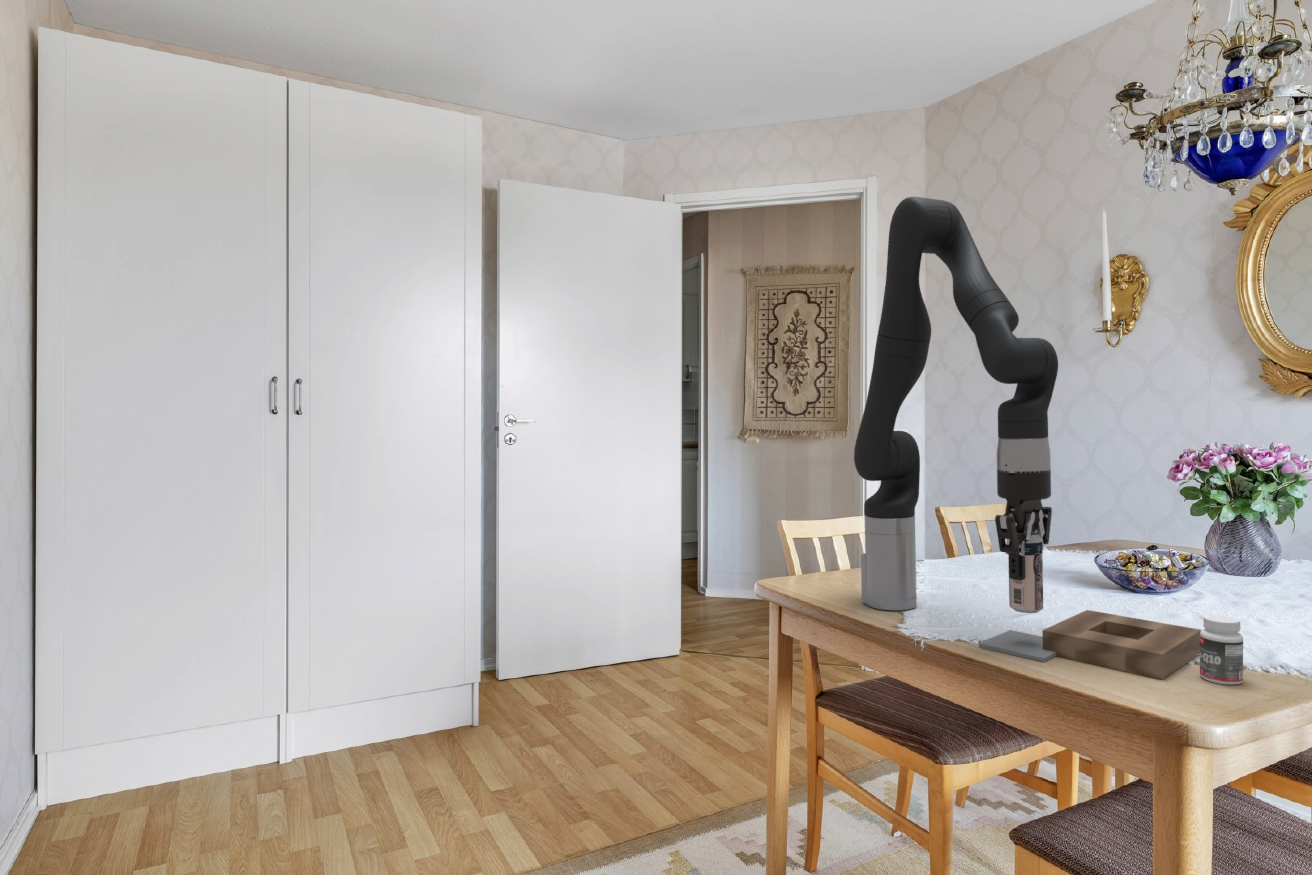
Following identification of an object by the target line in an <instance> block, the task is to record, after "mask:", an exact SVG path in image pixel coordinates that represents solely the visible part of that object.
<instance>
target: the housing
mask: <svg viewBox="0 0 1312 875" xmlns="http://www.w3.org/2000/svg"><path fill="white" fill-rule="evenodd" d="M1201 630H1202V629H1199V628H1193V627H1187V626H1182V625H1175V624H1170V623H1166V622H1165V623H1163V622H1159V621H1155V620H1154V621H1153V620H1147V619H1142V618H1135V617H1131V616H1130V617H1129V616H1125V615H1119V614H1112V613H1108V612H1101V611H1096V610H1090V609H1086V610H1084V611H1082V612H1079V613H1077V614H1075V615H1072V616H1071V617H1068V618H1066V619H1064V620H1062V621H1060V622H1057V623H1055V624H1053V625H1051V626H1048V627H1047V628H1044V629H1042V637H1043V649H1045V650H1049V651H1054V652H1056V656H1055V657H1059V658H1064V659H1068V660H1073V661H1077V662H1082V663H1085V664H1091V665H1095V666H1100V667H1104V668H1109V669H1112V670H1113V669H1114V670H1118V671H1122V672H1126V673H1131V674H1135V675H1138V676H1139V675H1140V676H1144V677H1147V678H1148V677H1149V678H1152V679H1153V678H1154V679H1157V680H1161V681H1163V680H1164V679H1166V678H1168V677H1169V676H1170V675H1172V674H1173V673H1175V672H1176V671H1178V670H1179V669H1181V668H1182V667H1184V666H1185V665H1187V664H1188V663H1189V662H1191V661H1192V660H1194V659H1195V658H1196V657H1198V656H1199V655H1200V632H1201ZM1198 654H1199V655H1198ZM1197 655H1198V656H1197Z"/></svg>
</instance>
